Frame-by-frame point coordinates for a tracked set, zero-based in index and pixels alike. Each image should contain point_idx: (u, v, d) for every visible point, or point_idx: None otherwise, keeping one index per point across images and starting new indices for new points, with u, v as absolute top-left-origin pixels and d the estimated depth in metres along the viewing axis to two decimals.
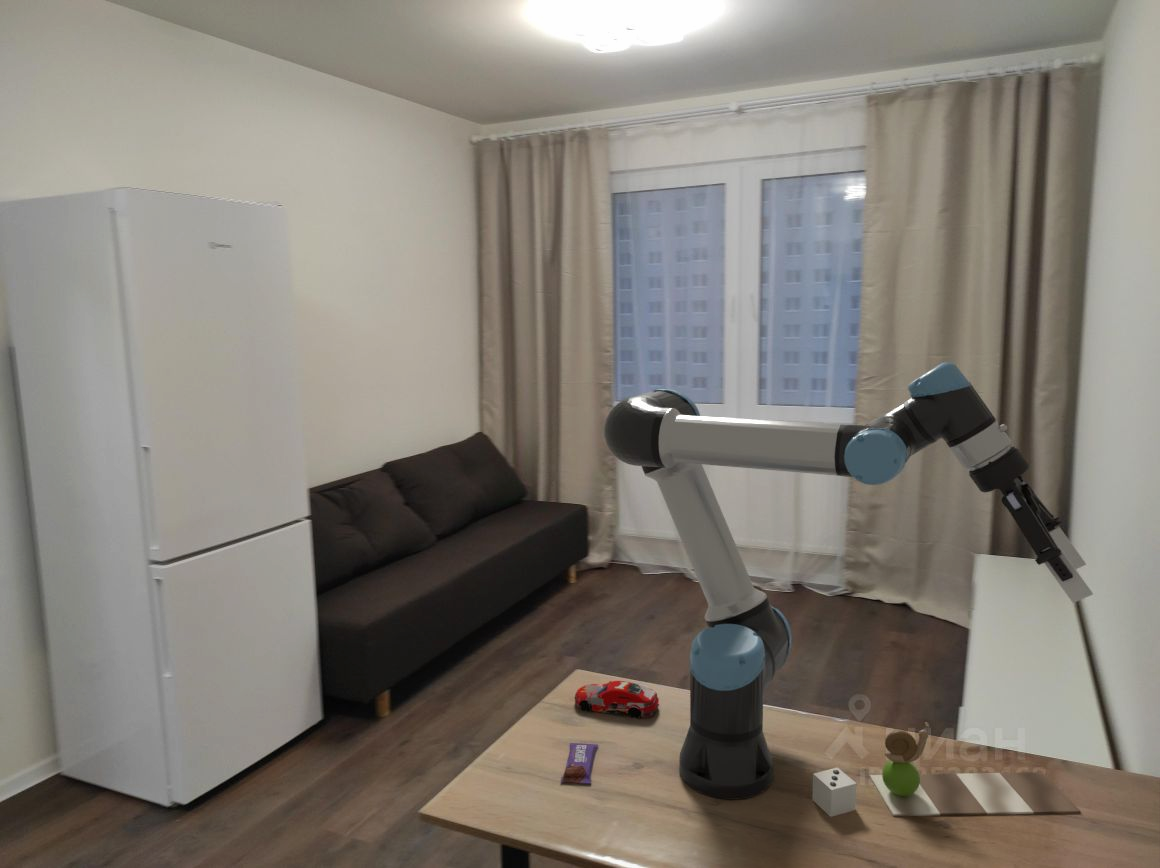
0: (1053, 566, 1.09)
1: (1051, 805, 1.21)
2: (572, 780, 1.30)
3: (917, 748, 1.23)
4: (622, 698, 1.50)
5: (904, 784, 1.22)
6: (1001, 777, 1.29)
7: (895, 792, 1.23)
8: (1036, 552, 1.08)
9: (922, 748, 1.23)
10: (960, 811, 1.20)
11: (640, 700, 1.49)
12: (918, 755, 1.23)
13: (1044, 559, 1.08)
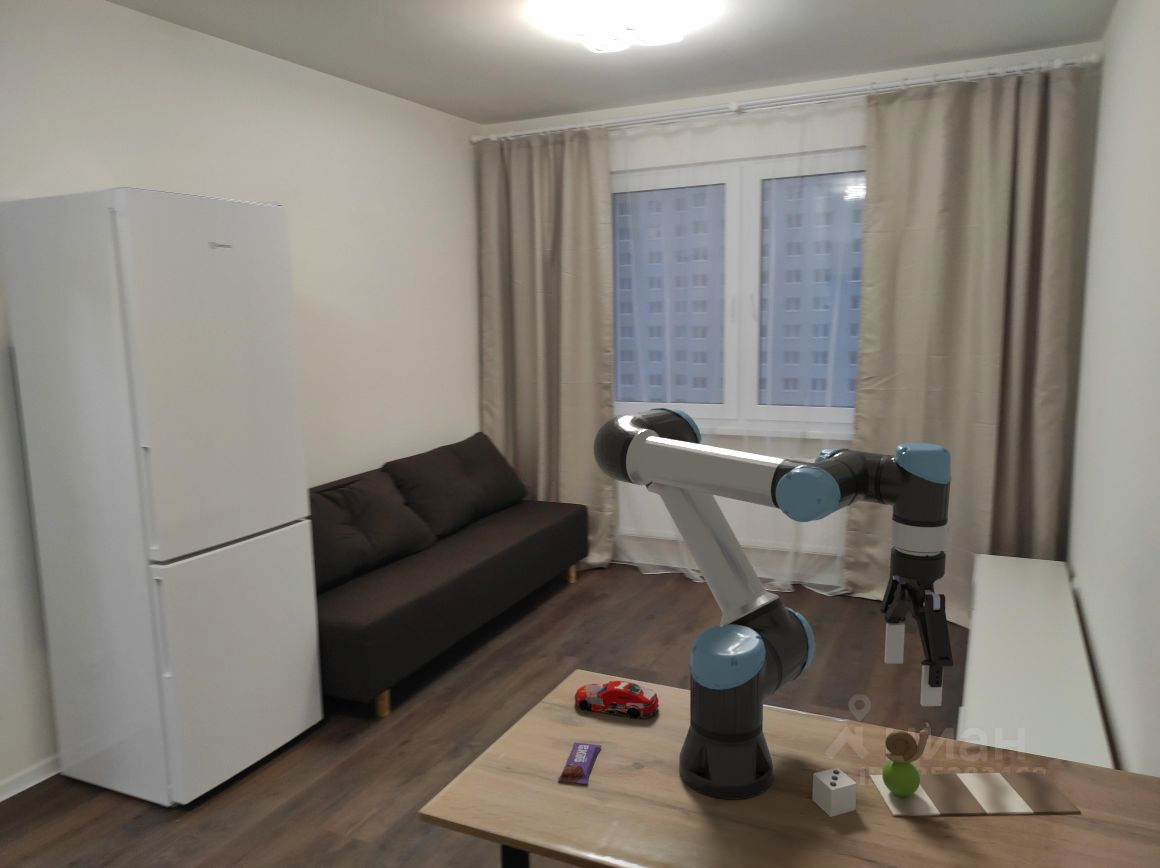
0: (934, 672, 1.13)
1: (1051, 805, 1.21)
2: (569, 779, 1.30)
3: (917, 749, 1.23)
4: (622, 698, 1.50)
5: (904, 785, 1.22)
6: (1001, 777, 1.29)
7: (895, 792, 1.23)
8: (936, 656, 1.11)
9: (922, 748, 1.23)
10: (960, 811, 1.20)
11: (639, 700, 1.49)
12: (918, 755, 1.23)
13: (938, 665, 1.11)
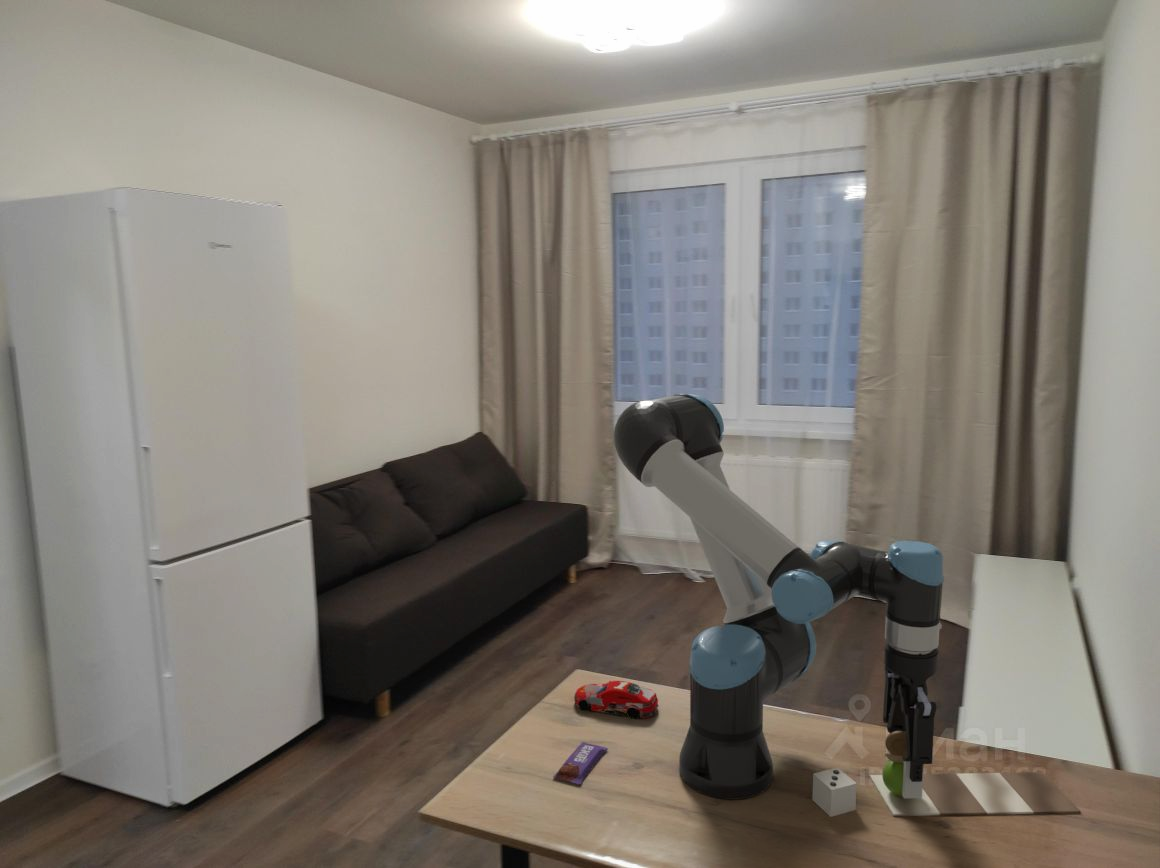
0: (914, 768, 1.19)
1: (1051, 805, 1.21)
2: (564, 778, 1.30)
3: None
4: (621, 698, 1.50)
5: None
6: (1001, 777, 1.29)
7: (895, 792, 1.23)
8: (917, 757, 1.17)
9: None
10: (960, 811, 1.20)
11: (639, 700, 1.49)
12: None
13: (918, 763, 1.18)
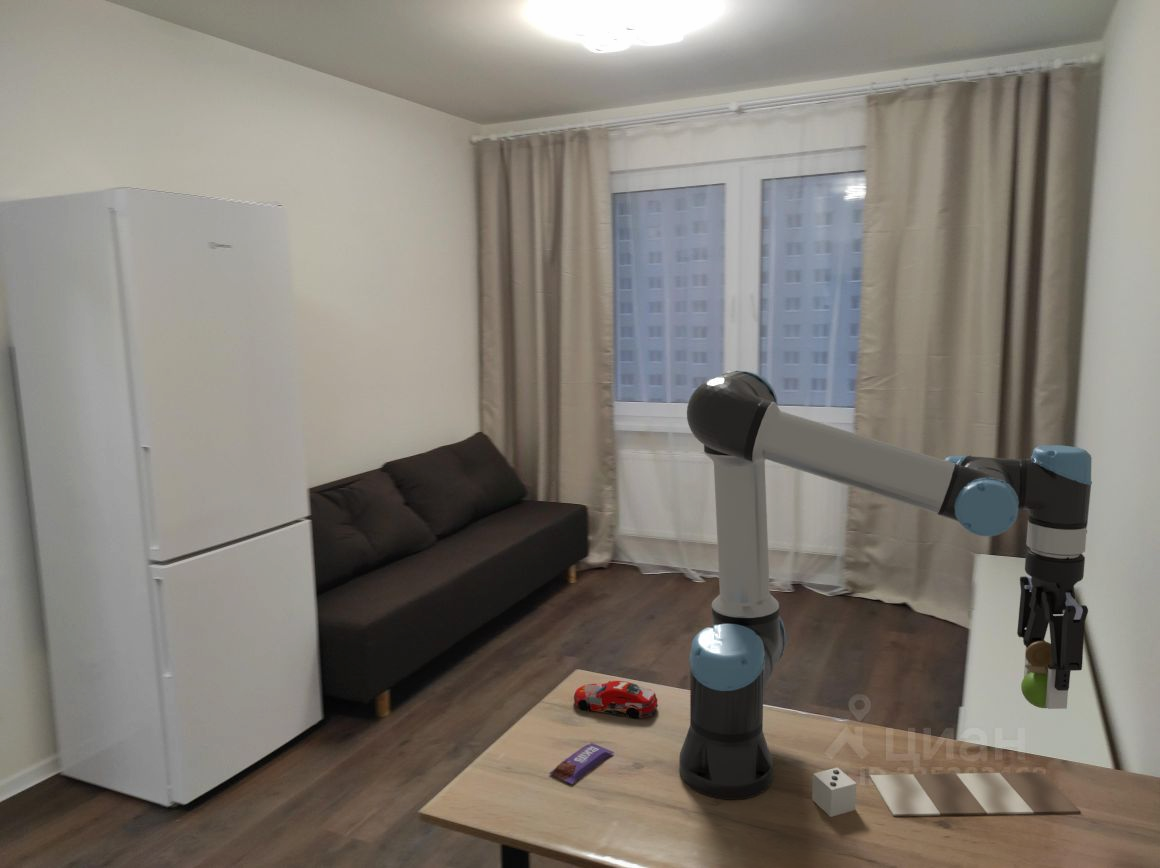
0: (1061, 675, 1.17)
1: (1051, 805, 1.21)
2: (559, 775, 1.31)
3: None
4: (621, 698, 1.50)
5: None
6: (1001, 777, 1.29)
7: (1037, 704, 1.20)
8: (1066, 663, 1.15)
9: None
10: (960, 811, 1.20)
11: (638, 700, 1.49)
12: None
13: (1067, 669, 1.15)
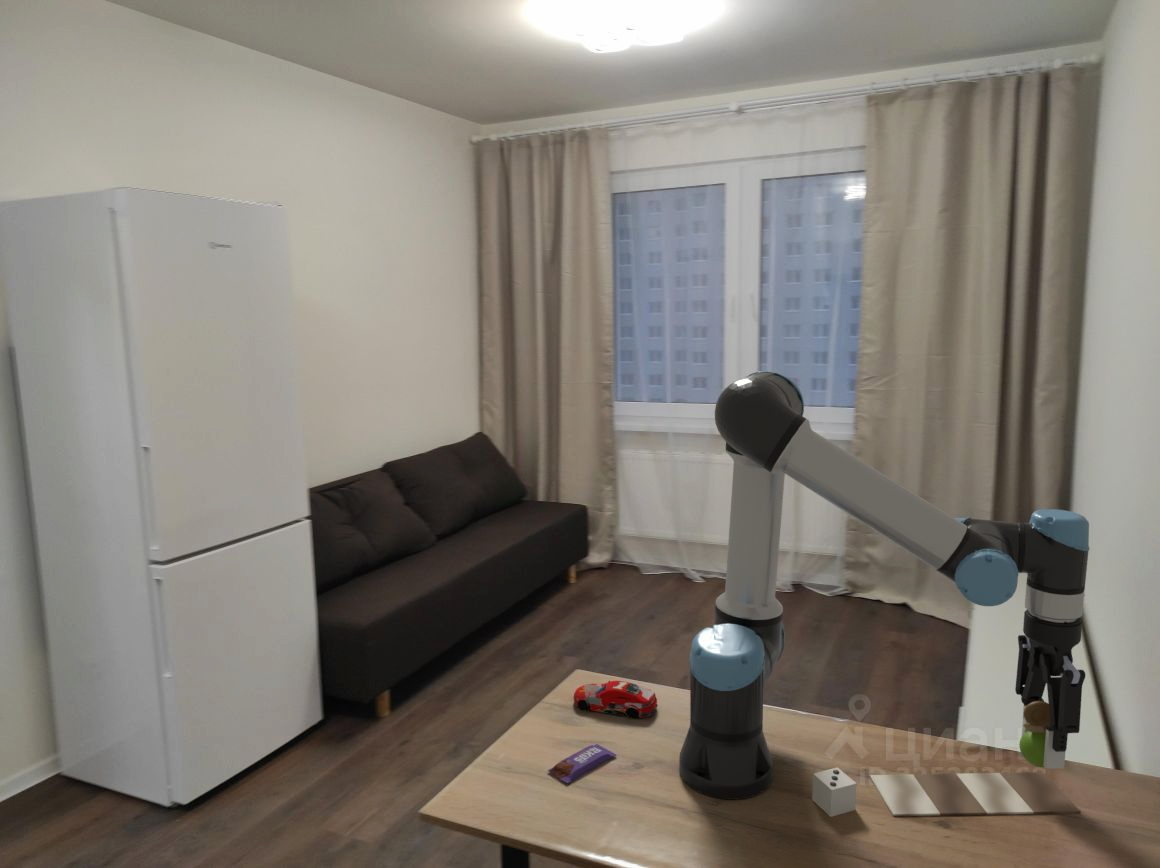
0: (1059, 737, 1.18)
1: (1051, 805, 1.21)
2: (556, 774, 1.32)
3: None
4: (620, 698, 1.50)
5: None
6: (1001, 777, 1.29)
7: (1035, 763, 1.22)
8: (1064, 726, 1.16)
9: None
10: (960, 811, 1.20)
11: (638, 700, 1.49)
12: None
13: (1065, 732, 1.17)
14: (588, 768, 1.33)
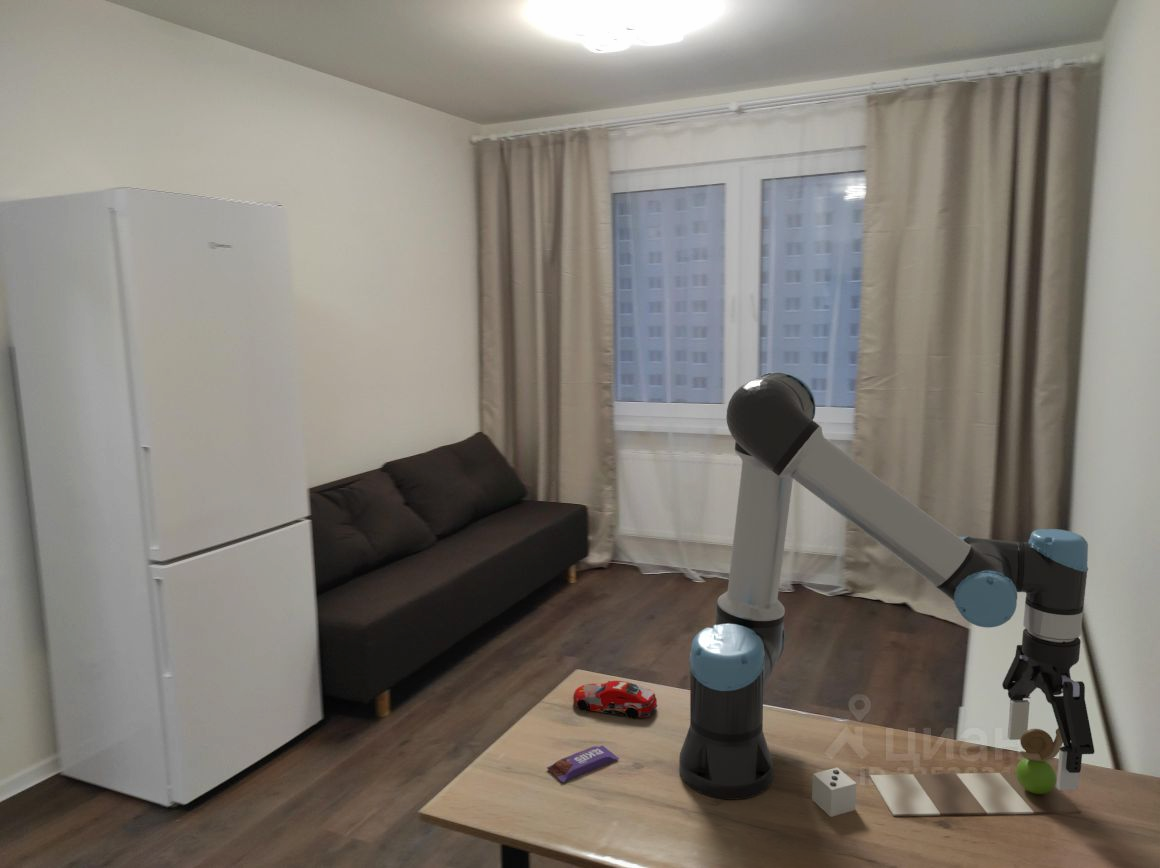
0: (1073, 758, 1.15)
1: (1051, 805, 1.21)
2: (554, 771, 1.32)
3: (1054, 746, 1.23)
4: (620, 698, 1.50)
5: (1042, 783, 1.22)
6: (1001, 777, 1.29)
7: (1032, 790, 1.23)
8: (1077, 744, 1.13)
9: (1059, 746, 1.23)
10: (960, 811, 1.20)
11: (637, 700, 1.49)
12: (1055, 753, 1.23)
13: (1079, 753, 1.13)
14: (587, 769, 1.33)
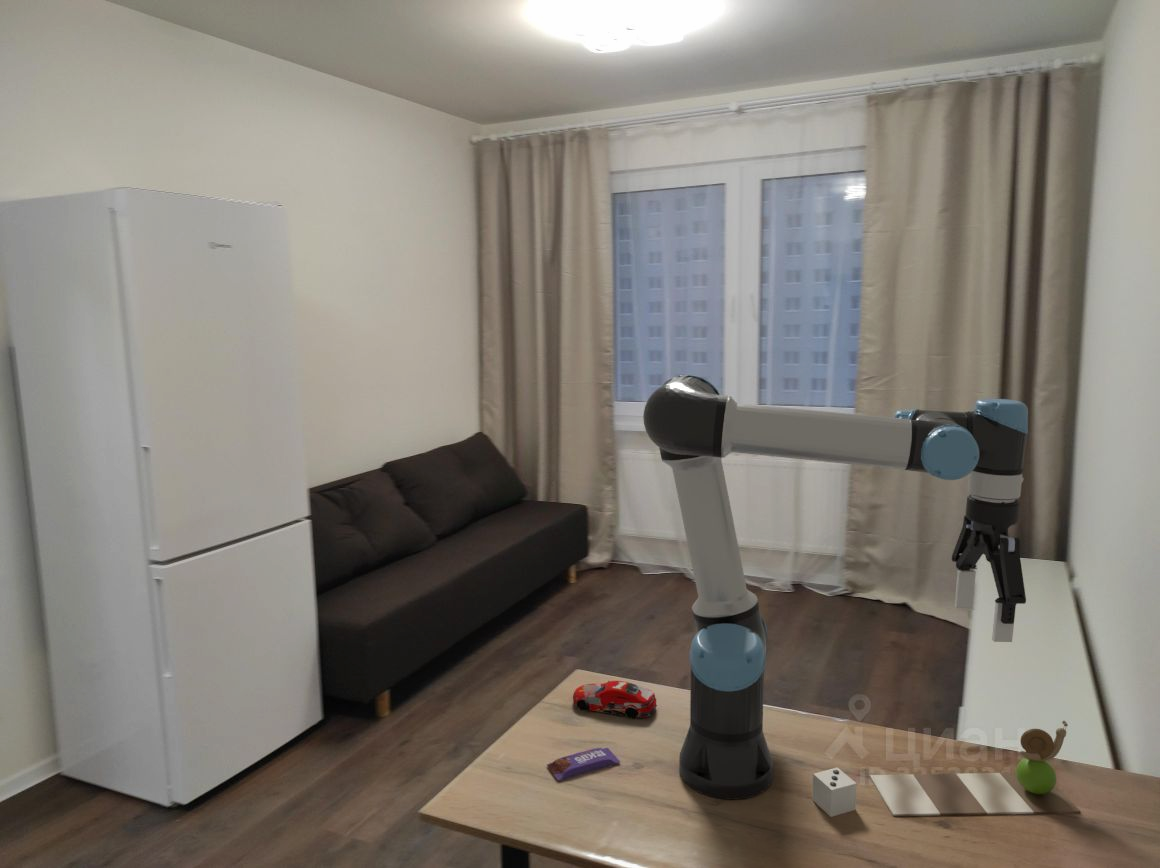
0: (1007, 609, 1.22)
1: (1051, 805, 1.21)
2: (552, 769, 1.33)
3: (1054, 746, 1.23)
4: (620, 698, 1.50)
5: (1042, 783, 1.22)
6: (1001, 777, 1.29)
7: (1032, 790, 1.23)
8: (1010, 594, 1.20)
9: (1060, 746, 1.23)
10: (960, 811, 1.20)
11: (637, 700, 1.49)
12: (1055, 753, 1.23)
13: (1012, 602, 1.20)
14: (585, 770, 1.32)
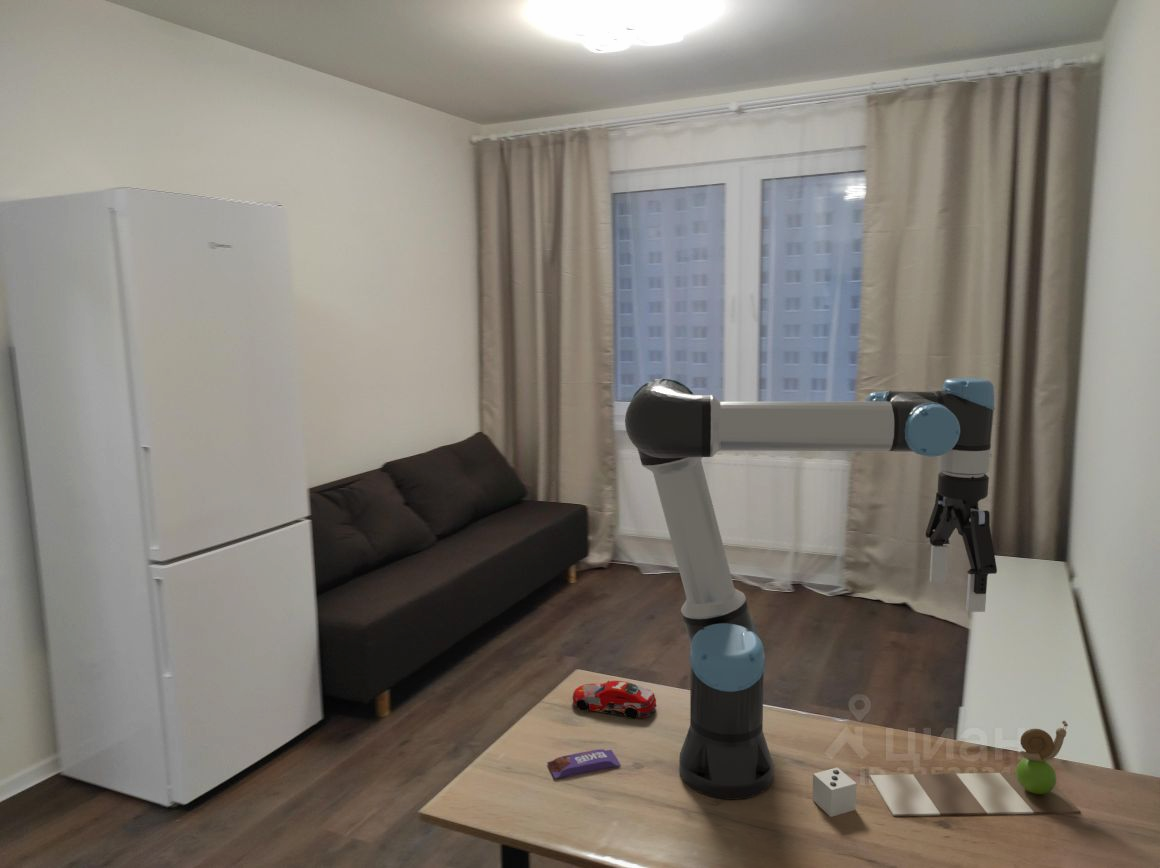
0: (979, 579, 1.26)
1: (1051, 805, 1.21)
2: (552, 767, 1.34)
3: (1054, 746, 1.23)
4: (619, 698, 1.50)
5: (1042, 783, 1.22)
6: (1001, 777, 1.29)
7: (1032, 790, 1.23)
8: (981, 564, 1.24)
9: (1060, 746, 1.23)
10: (960, 811, 1.20)
11: (637, 700, 1.49)
12: (1055, 753, 1.23)
13: (983, 572, 1.24)
14: (583, 770, 1.32)
